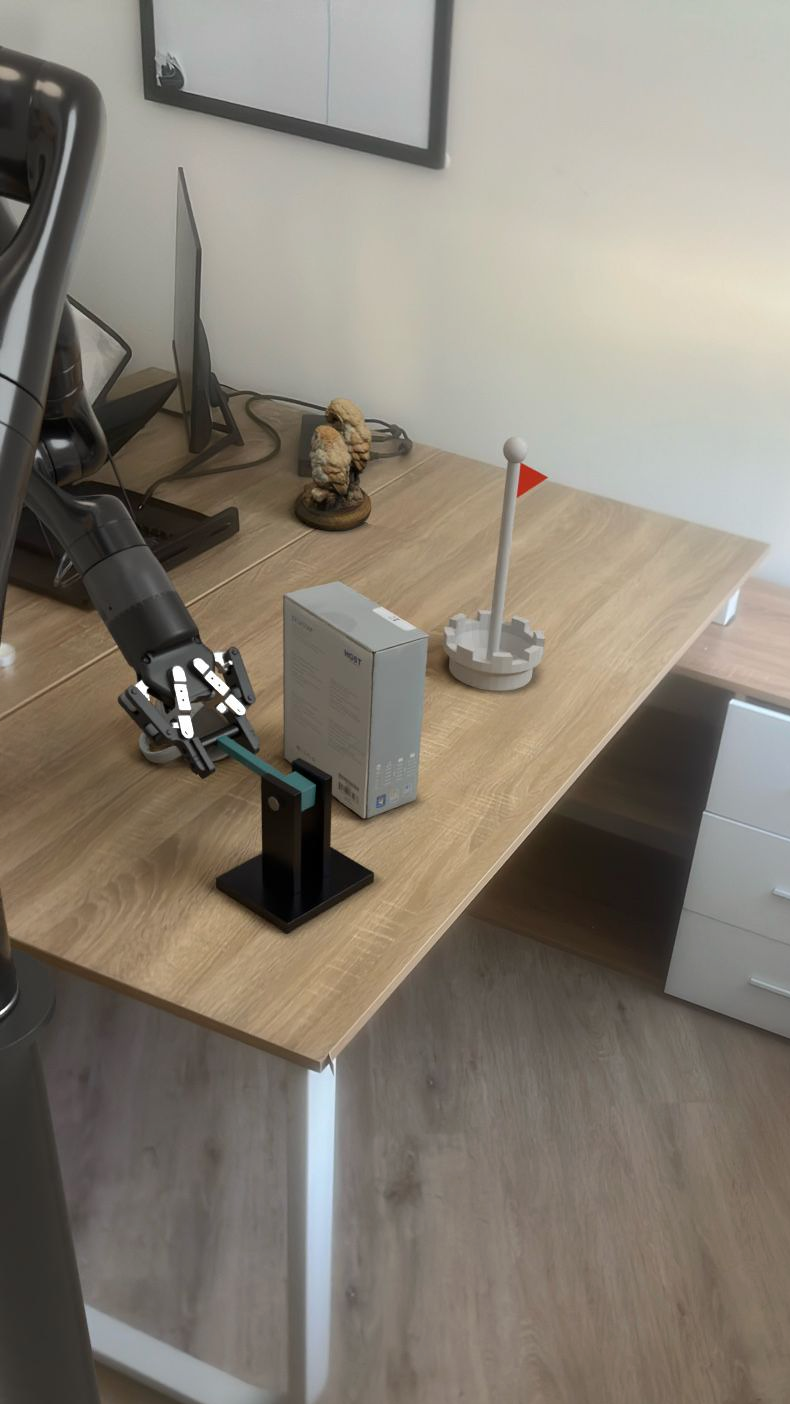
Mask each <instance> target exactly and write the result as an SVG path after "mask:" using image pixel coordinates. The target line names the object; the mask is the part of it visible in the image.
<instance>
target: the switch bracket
mask: <svg viewBox="0 0 790 1404" xmlns="http://www.w3.org/2000/svg"><path fill="white" fill-rule="evenodd" d="M295 771H296V772H297V773H299V774H300V775H302V776H303V777H305V778H306V779H308V780H309V781H311V782H312V783H314V784H315V785H316V792H315V804H314V805H313V806H311V807H309V808H308V809H306V810H304V811H302V792H301V791H299V790H298V789H296V788H294V787H293V786H291V785H289V784H287V783H286V782H284V781H282V780H280V779H279V778H277V777H275V776H274V775H272V774H270V773H266V774H264V775H262V776H261V777H260V807H261V809H260V813H261V814H260V816H261V819H260V820H261V853H260V854H257V855H256V856H254V857H252V858H250V859H248V860H246V861H245V862H243V863H240V864H238V865H237V866H235V867H233V868H231V869H230V870H227V871H225V872H224V873H222V874H220V875H218V876H216V877H215V888H216V889H218V890H219V891H222V893H224V894H226V895H227V896H229V897H230V898H232V899H234V900H235V901H236V902H238V903H240V904H241V905H243V906H244V907H246V908H247V909H249V910H250V911H252V912H253V913H255V914H256V915H258V916H259V917H261V918H263V919H265V921H267V922H269V923H271V924H272V925H274V927H277V928H278V929H280V930H281V931H283V932H285V934H290V933H291V932H293V931H295V930H296V929H298V928H300V927H302V926H303V925H305V924H306V923H308V922H310V921H312V920H313V919H315V918H316V917H318V916H320V915H322V914H323V913H325V912H326V911H329V910H330V909H332V908H333V907H335V906H337V905H338V904H340V903H341V902H343V901H345V900H346V899H348V898H349V897H352V896H353V895H355V894H357V893H358V892H360V891H361V890H363V889H364V888H366V887H368V886H369V885H372V884H373V883H374V882H375V872H374V871H373V870H371V869H369V868H367V867H366V866H364V865H362V864H361V863H359V862H357V861H355V860H354V859H352V858H350V857H349V856H347V855H345V854H343V853H342V852H340V851H339V850H337V849H335V848H333V847H332V845H331V842H332V841H331V840H332V807H333V806H332V805H333V801H332V800H333V799H332V798H333V795H332V776H331V775H329V774H327V773H326V772H324V771H322V770H320V769H319V768H317V767H315V766H313V765H312V764H310V763H308V762H306V761H305V760H303V759H301V758H297V759H295V760H293V761H292V763H291V773H293V772H295ZM301 811H302V812H301Z"/></svg>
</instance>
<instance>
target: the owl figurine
mask: <svg viewBox="0 0 790 1404" xmlns="http://www.w3.org/2000/svg"><path fill="white" fill-rule="evenodd" d="M323 422H324V424H323V425H321V424H320V425H319V426H316V428H315V429H314V430H313V435H312V437H311V443H310V445H311V447H312V448H311V451H310V452H309V454H308V455H309V460H310V462H311V463H310V466H311V478H312V482H311V481H310V482H309V483H305V484H304V486H303V489H304V490H303V491H302V492H300V493H299V494H298V496H296V499H295V501H294V513H295V515H296V517H297V518H298V519H299V521H300V522H302V523H304V524H306V525H307V526H308V527H311V528H313V529H319V530H323V531H332V532H337V531H339V532H343V531H348V530H352V529H355V528H357V527H359V526H361V525H362V524H364V523H365V522H366V521H368V519H369V517H370V516H371V512H372V500H371V498H370V496H369V494H368V493H367V492H365V491H364V490H363V488H362V487H361V486H360V484H361V476H360V475H363V474H364V473H365V471H364V470H365V469H366V468H367V465H368V461H370V460H371V455H370V453H371V450H372V447H371V446H372V439H373V436H372V431H371V429H370V428H369V427H368V426H367V425H366V420H365V416H364V415H363V413H362V411H361V408H360V407H358V405H357V404H355V402H353V401H351V400H349V399H347V398H341V397H340V398H338V397H337V398H333V399H332V400H331V401H330V403H329V404H328V406H327V408H326V409H325V411H324V421H323Z"/></svg>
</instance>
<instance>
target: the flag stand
mask: <svg viewBox="0 0 790 1404" xmlns="http://www.w3.org/2000/svg"><path fill="white" fill-rule="evenodd" d="M502 447H503V448H502V453H503V456H504V458H505V459H506V460H507V464H506V465H507V466H506V473H505V474H506V475H505V483H504V492H503V499H502V500H503V502H502V510H501V520H500V529H499V538H498V547H497V549H498V550H497V557H496V565H495V574H494V583H493V591H492V601H491V610H487V609H486V610H485V609H483V610H481V609H478V610H477V614H476V615H477V616H476V618H467V617H468V616H467V615H465V614H464V613H462V612H461V613H460V612H459V613H457V614H455V615H453V616H451V617H449V620H448V626H444V628H443V638H442V646H443V651H444V653H446V655H447V656H448V657H449V661H448V662H449V663H448V668H449V672H450V673H451V675H452V677H454V678H455V679H456V680H458V681H459V682H461V683H463V684H465V685H468V686H470V687H472V688H477V689H479V690H480V689H481V690H484V691H485V690H486V691H494V692H495V691H496V692H504V691H513V690H516V689H520V688H522V687H524V686H526V685H528V683H530V681H531V680H532V676H533V673H534V672H533V670H534V668H535V667H536V666H538V665H539V664H540V663H541V661H542V660H543V656H544V649H545V641H546V638H545V637H546V636H545V634H544V632H543V630H542V629H538V630H537V629H535V630H533V631H532V630H531V623H532V621H531V620H529V619H527V618H524V617H522V616H519V615H516V614H515V615H513V616H512V617H511V621H508V620H503V617H504V607H505V600H506V591H507V582H508V575H509V567H510V566H509V565H510V556H511V550H512V549H511V547H512V541H513V540H512V539H513V533H514V532H513V531H514V521H515V514H516V505H517V499H518V498H520V497H521V496H523V495H524V494H525V493H527V492H529V491H530V490H531V489H533V488H535V487H536V486H538V485H539V484H542V482H544V481H545V480H547V479H548V478H549V476H547V475H545V474H543V473H541V472H539V471H537V470H536V469H534V468H533V467H530V466H528V465H527V464H525V463H523V461H525V460H526V458H527V457H528V453H529V447H528V444H527V442H526V441H525V439H524V438H521V437H519V436H512V437H510V438H507V440H506V441H505V442H504V444H503V446H502Z"/></svg>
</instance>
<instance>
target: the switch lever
mask: <svg viewBox="0 0 790 1404" xmlns="http://www.w3.org/2000/svg"><path fill="white" fill-rule="evenodd" d="M240 735H241V731H240V728H239V726H238V725H237V724H235V723H232V724H229V725H227V726H225V727H222V728H220V729H218V730H216V731H213V732H211V733H209V734H206V735H204V736H202V737H199V740H200V742H201V743H202V745H203V747H204V749H205V750H206V751H208V750H210V749H213V748H215V747H217V748H219V749H220V750H222V751H223V752H225V753H226V754H228V757H230V758H232V759H233V760H235V761H236V762H238V763H239V764H241V765H242V766H243V767H245V768H247V769H248V770H250V771H251V772H253V773H254V774H256V776H259V778H261V776H262V775H264V774H266V773H270V774H272V775H274V776H275V777H277V778H279V779H280V780H282V781H284V782H286V783H287V784H289V785H291V786H293V787H294V788H296V789H298V790H299V791H301V792H302V811H304V810H306V809H308V808H309V807H311V806H313V805H314V804H315V792H316V785H315V784H314V783H312V782H311V781H309V780H308V779H306V778H305V777H303V776H302V775H300V774H299V773H297V772H296V771H295V772H293V773H292V772H291V773H288V774H287V775H285V774H284V773H283V772H281V771H279V770H278V769H276V768H275V767H273V766H272V765H270V764H269V763H268V762H266V761H264V760H263V759H261V758H260V757H259V756H257V755H256V754H255V755H254V754H252V753H251V752H249V751H248V750H246V749H245V748H243V747H242V746H240V745H239V744H238V743H236V742H235V741H233V739H235V738H237V737H239V736H240ZM302 811H301V812H302Z"/></svg>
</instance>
